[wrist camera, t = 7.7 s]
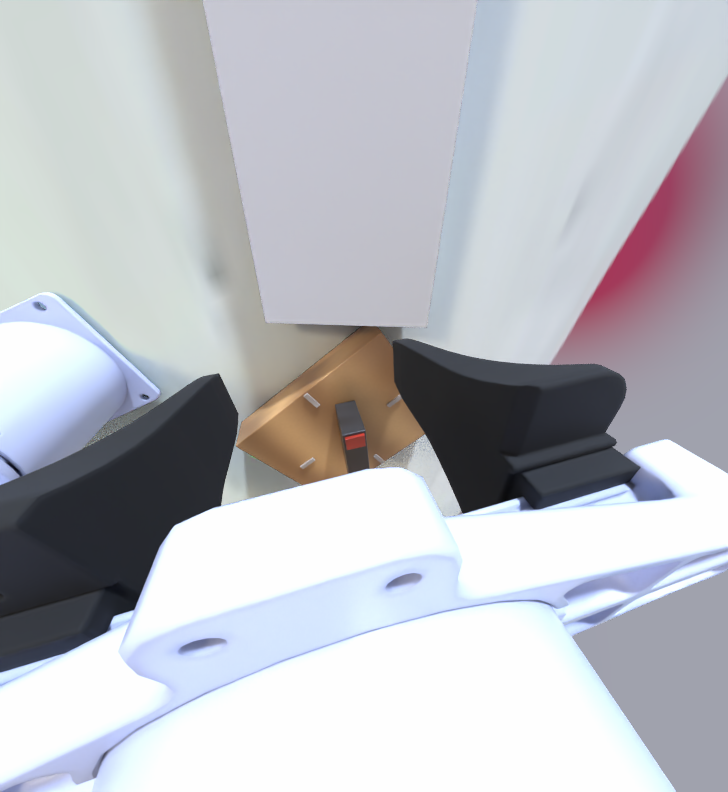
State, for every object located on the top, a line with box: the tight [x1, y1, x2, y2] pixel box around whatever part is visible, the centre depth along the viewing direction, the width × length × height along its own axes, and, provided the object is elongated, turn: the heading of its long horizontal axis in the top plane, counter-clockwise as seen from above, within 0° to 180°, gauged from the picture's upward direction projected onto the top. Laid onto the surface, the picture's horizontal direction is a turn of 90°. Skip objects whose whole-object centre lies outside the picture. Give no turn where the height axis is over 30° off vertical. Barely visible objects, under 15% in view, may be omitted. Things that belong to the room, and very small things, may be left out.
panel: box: [236, 326, 425, 485], centre depth 23 cm, size 14×11×3 cm
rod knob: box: [335, 401, 370, 474], centre depth 20 cm, size 6×2×4 cm, turn 5°
